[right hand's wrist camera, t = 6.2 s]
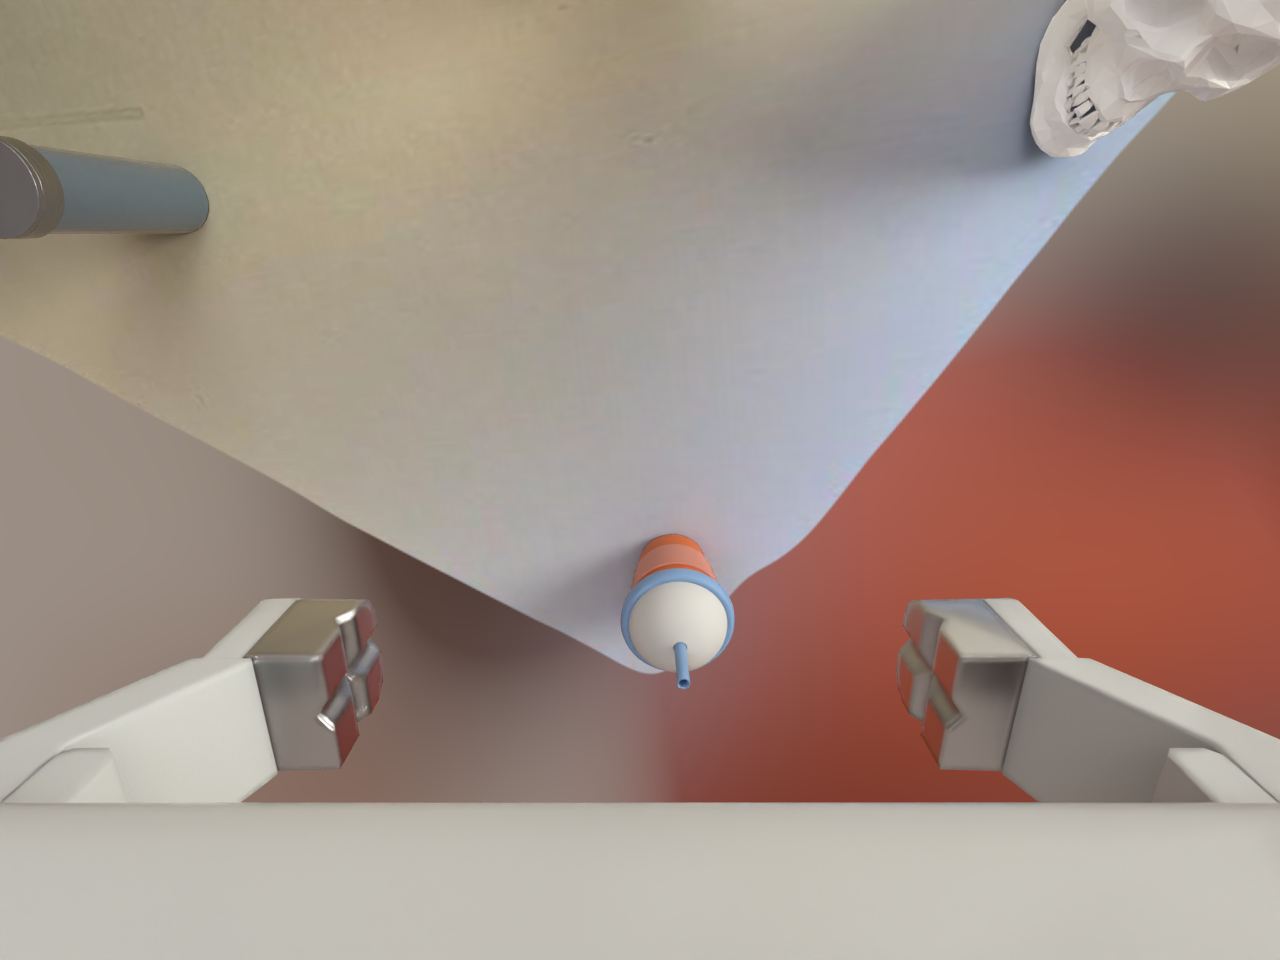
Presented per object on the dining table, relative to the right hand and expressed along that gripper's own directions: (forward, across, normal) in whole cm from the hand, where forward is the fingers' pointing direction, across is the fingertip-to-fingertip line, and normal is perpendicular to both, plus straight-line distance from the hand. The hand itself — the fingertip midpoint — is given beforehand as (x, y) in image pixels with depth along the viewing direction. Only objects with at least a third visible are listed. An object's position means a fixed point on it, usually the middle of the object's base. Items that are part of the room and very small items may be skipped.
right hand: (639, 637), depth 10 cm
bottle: (+48, +36, -8) cm, 61 cm away
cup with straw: (+48, -3, +23) cm, 53 cm away
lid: (+32, +36, -8) cm, 49 cm away
